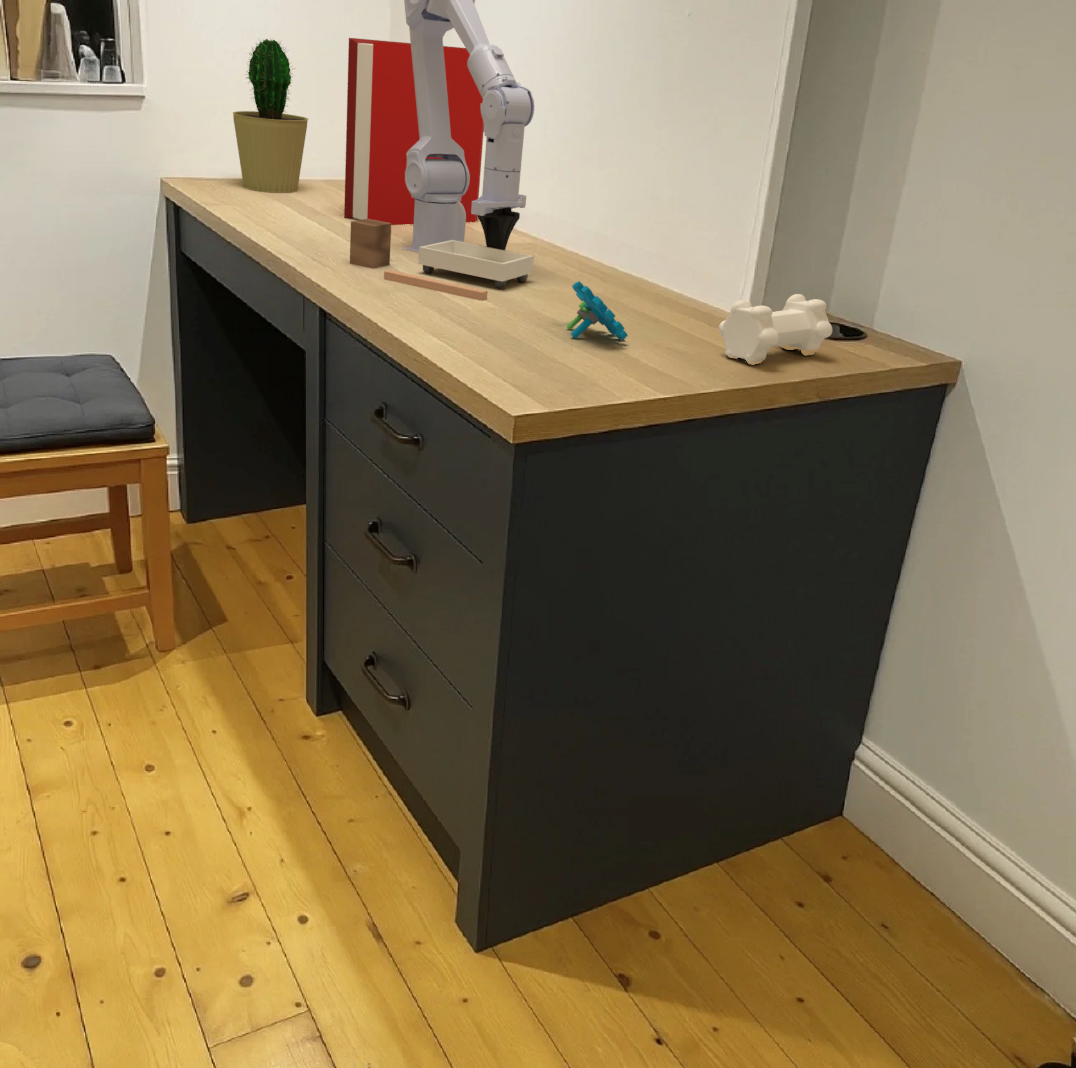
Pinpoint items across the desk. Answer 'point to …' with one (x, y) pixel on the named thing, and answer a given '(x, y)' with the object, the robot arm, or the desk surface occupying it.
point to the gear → (594, 314)
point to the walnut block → (370, 243)
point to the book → (400, 128)
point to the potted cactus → (270, 125)
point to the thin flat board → (435, 285)
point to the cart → (476, 261)
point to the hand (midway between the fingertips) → (495, 256)
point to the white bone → (774, 327)
